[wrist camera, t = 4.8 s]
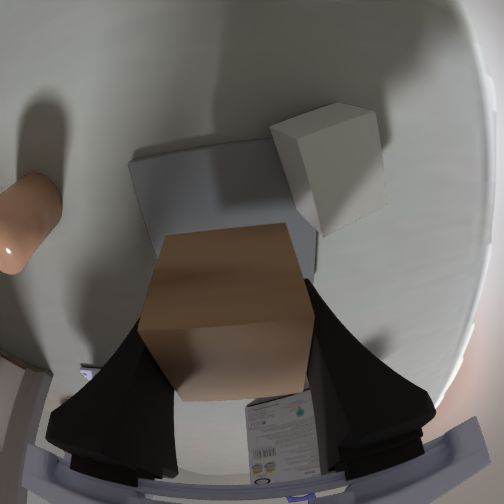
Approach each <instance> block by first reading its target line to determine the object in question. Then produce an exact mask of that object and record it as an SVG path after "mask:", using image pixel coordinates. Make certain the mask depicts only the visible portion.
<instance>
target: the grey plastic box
mask: <svg viewBox="0 0 504 504" xmlns="http://www.w3.org/2000/svg"><path fill="white" fill-rule="evenodd" d="M269 128H270V131H271V134H272V136H273V139H274V142H275V145H276V148H277V151H278V154H279V157H280V160H281V163H282V165H283V169H284V172H285V175H286V178H287V181H288V184H289V187H290V190H291V193H292V196H293V200H294V203H295V206H296V209H297V211H298V212H299V213H300V214H301V215H302V216H303V217H304V218H305V219H306V220H307V221H308V222H309V223H310V224H311V225H312V226H313V227H314V228H315V229H316V230H317V232H318V233H319V234H320V235H321V236H322V237H325V236H327V235H329V234H331V233H333V232H335V231H337V230H339V229H341V228H342V227H344V226H346V225H348V224H350V223H352V222H354V221H356V220H358V219H360V218H362V217H364V216H365V215H367V214H369V213H371V212H373V211H375V210H377V209H379V208H381V207H383V206H384V205H386V204H387V199H386V186H385V175H384V166H383V157H382V150H381V142H380V136H379V129H378V123H377V118H376V112H375V111H372V110H369V109H365V108H361V107H356V106H352V105H348V104H343V103H338V102H337V103H334V104H331V105H328V106H325V107H322V108H319V109H316V110H313V111H310V112H307V113H304V114H301V115H299V116H296V117H293V118H290V119H288V120H285V121H282V122H280V123H277V124H275V125H272V126H270V127H269Z"/></svg>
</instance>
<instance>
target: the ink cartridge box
mask: <svg viewBox="0 0 504 504" xmlns="http://www.w3.org/2000/svg"><path fill="white" fill-rule="evenodd" d="M245 415H246V428H247V441H248V452H249V467H250V480H251V484H266V483H276V482H285V481H293V480H300V479H306V478H312V477H318V476H321V472H320V462H319V451H318V441H317V433H316V425H315V417H314V410H313V403H312V397H311V391H310V390H307V391H304V392H302V393H298V394H295V395H291V396H288V397H285V398H281V399H278V400H274V401H270V402H267V403H263V404H259V405H255V406H251V407H247V408H245ZM286 498H287V500H288V502H289V503H290V502H298V501H305V500H309V499H314V498H316V497H315V493H310V494H308V495H306V496H304V497H291V496H289V497H286Z"/></svg>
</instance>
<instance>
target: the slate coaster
mask: <svg viewBox="0 0 504 504" xmlns="http://www.w3.org/2000/svg"><path fill="white" fill-rule="evenodd" d="M128 167H129V171H130V174H131V178H132V182H133V185H134V189H135V192H136V195H137V199H138V202H139V206H140V209H141V212H142V215H143V218H144V222H145V225H146V228H147V231H148V234H149V237H150V240H151V243H152V246H153V248H154V251H155V254H156V257H157V259H158V256H159V253H160V250H161V247H162V244H163V241H164V238H165V235H173V234H181V233H190V232H198V231H207V230H216V229H226V228H235V227H245V226H255V225H265V224H275V223H286V226H287V229H288V232H289V235H290V238H291V241H292V244H293V247H294V250H295V253H296V256H297V259H298V263H299V266H300V269H301V272H302V275H303V278H304V279H306V278H308V279H309V280H310V281H311V283H312V284H313V282H314V267H315V249H316V229H315V228H314V227H313V226H312V225H311V224H310V223H309V222H308V221H307V220H306V219H305V218H304V217H303V216H302V215H301V214H300V213H299V212H298V211H297V209H296V206H295V203H294V200H293V196H292V193H291V190H290V187H289V184H288V181H287V178H286V175H285V172H284V169H283V165H282V163H281V160H280V157H279V154H278V151H277V148H276V145H275V142H274V139H273V138H272V139H261V140H250V141H241V142H233V143H225V144H217V145H210V146H203V147H197V148H191V149H185V150H179V151H174V152H168V153H163V154H158V155H153V156H148V157H144V158H139V159H135V160H131V161H130V162H129V163H128Z"/></svg>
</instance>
